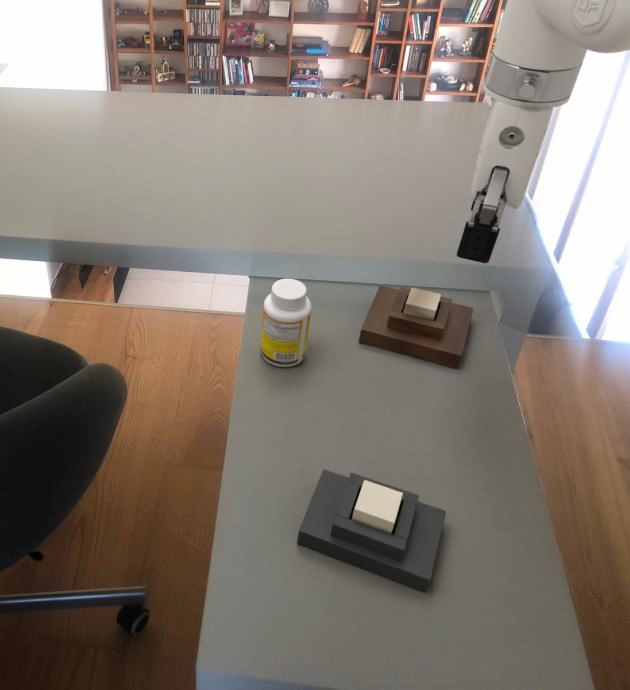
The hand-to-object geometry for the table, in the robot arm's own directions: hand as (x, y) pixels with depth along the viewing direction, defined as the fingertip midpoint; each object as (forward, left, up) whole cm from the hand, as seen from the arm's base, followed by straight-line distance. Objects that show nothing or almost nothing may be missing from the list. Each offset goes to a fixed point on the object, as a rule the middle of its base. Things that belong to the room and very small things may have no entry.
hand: (479, 235), depth 75 cm
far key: (+4, -2, -13) cm, 14 cm away
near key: (+2, +30, -13) cm, 33 cm away
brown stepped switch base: (+4, -2, -17) cm, 17 cm away
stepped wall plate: (+2, +30, -17) cm, 34 cm away
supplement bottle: (+18, +9, -17) cm, 26 cm away
